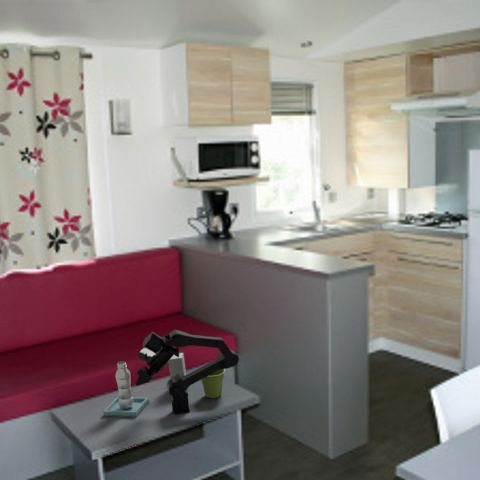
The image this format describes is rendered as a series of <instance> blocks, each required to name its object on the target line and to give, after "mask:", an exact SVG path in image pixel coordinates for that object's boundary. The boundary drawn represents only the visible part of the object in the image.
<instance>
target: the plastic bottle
mask: <svg viewBox="0 0 480 480" xmlns="http://www.w3.org/2000/svg"><path fill="white" fill-rule="evenodd" d="M116 365H117V370H116V372H115V376H114V377H115V380H116V383H117V389H118V397H119V401H118V403H119V406H120V408H122V409H129V408H131V407H132V406H133V405H134V399H133V398H134V397H133V393H132V388H131V387H132V386H131V374H132V373H131V372H130V370H129V369H128V368H127V363H126V361H118V362H117V364H116Z"/></svg>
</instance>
